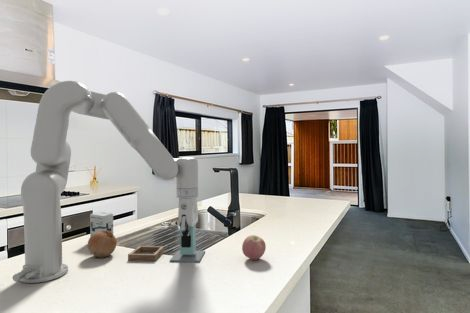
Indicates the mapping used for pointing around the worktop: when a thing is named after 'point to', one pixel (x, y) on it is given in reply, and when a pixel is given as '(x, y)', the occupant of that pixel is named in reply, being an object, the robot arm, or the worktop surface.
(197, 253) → the mat
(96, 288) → the worktop surface
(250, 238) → the apple
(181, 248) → the part
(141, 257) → the pocket frame
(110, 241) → the onion
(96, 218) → the ink box
